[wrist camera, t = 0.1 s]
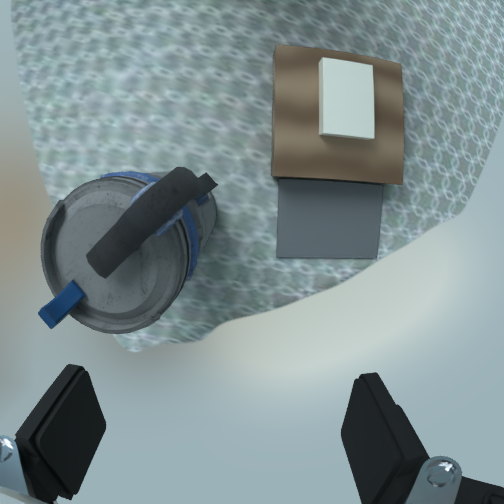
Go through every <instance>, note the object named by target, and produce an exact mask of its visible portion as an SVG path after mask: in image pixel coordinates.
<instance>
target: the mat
mask: <svg viewBox="0 0 504 504" xmlns="http://www.w3.org/2000/svg"><path fill="white" fill-rule="evenodd" d="M382 196H383V185H373V184H361V183H348V182H334V181H317V180H296V179H279V198H278V228H277V254H276V257H309V258H377V250H378V241H379V232H380V221H381V209H382Z"/></svg>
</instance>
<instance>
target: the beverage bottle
mask: <svg viewBox="0 0 504 504" xmlns="http://www.w3.org/2000/svg"><path fill="white" fill-rule="evenodd" d="M217 185H218V184H217V183H215V182H214V181H213V179H212V178H211V177H210V176H209V175H208V173H207V172H206V173H205V174H203V175H202V176H200V177H199V178H197V177H196V176H195V175H194V173H193V172H192V171H191V170H189V169H187V168H185V167H176V168H175V169H174V170H172V171H171V172H156V173H139V172H132V171H130V172H116V173H108V174H104V175H102V176H101V178H100V179H96V180H93V181H90V182H87V183H84V184H82V185H81V186H79V187H78V188H76V189H74V190H73V191H72V192H71V193H70V194H69V195H68V196H67V197H66V198H65V199H64V200H59V201H58V203H57V204H56V206H55V207H54V209H53V211H52V212H51V214H50V215H49V217H48V218H47V221H46V224H45V226H44V229H43V233H42V240H41V261H42V267H43V272H44V275H45V278H46V280H47V284H48V286H49V287H50V289H51V291H52V293H53V295H54V297H55V298H54V299H53V300H51V301H50V302H49V303H48V304H47V305H45V306H44V307H42V308H41V310H40V311H39V312H38V315H39V316H40V317H41V318H42V319H43V321H44V322H45V323H46V324H47V325H48V326H49V328H50V329H52V328H54V327H55V326H56V325H57V324H58V323H60V322H61V321H62V320H63V319H64V318H65V317H66V316H67V315H68V314H70V315H71V316H72V317H73V318H75V319H76V320H77V321H79V322H80V323H81V324H83V325H85V326H87V327H89V328H91V329H93V330H97V331H100V332H103V333H110V334H124V333H131V332H134V331H136V330H139V329H142V328H145V327H148V326H149V325H151V324H152V323H154V322H155V321H157V320H159V319H160V317H161V315H162V314H163V313H164V312H165V311H166V310H167V309H168V308H169V307H170V306H171V304H172V302H173V301H174V300H175V299H176V297H177V296H178V294H179V293H180V291H181V289H182V288H183V286H184V284H185V282H186V281H188V280H190V279H191V277H192V275H193V272H194V270H195V267H196V264H197V259H198V257H199V255H200V253H201V251H202V249H203V247H204V245H205V244H206V242H207V240H208V238H209V236H210V234H211V232H212V230H213V228H214V225H215V221H216V216H217V214H216V203H215V199H214V197H213V195H212V192H211V190H212V189H213V188H215V187H216V186H217Z"/></svg>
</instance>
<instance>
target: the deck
mask: <svg viewBox="0 0 504 504" xmlns="http://www.w3.org/2000/svg"><path fill="white" fill-rule="evenodd" d="M322 58H331V59H338V60H344V61H351V62H356V63H362V64H367V65H372V66H373V84H374V139H370V140H364V139H356V138H347V137H337V136H327V135H319V62H320V60H321V59H322ZM403 160H404V106H403V84H402V69H401V64H399V63H395V62H391V61H387V60H383V59H378V58H373V57H369V56H363V55H358V54H352V53H347V52H340V51H334V50H327V49H319V48H310V47H300V46H288V45H276V46H275V50H274V54H273V104H272V159H271V175H272V176H285V177H307V178H325V179H340V180H354V181H366V182H377V183H387V184H397V185H402V183H403Z"/></svg>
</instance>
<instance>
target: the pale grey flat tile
mask: <svg viewBox="0 0 504 504" xmlns="http://www.w3.org/2000/svg"><path fill="white" fill-rule="evenodd" d="M319 135H327V136H337V137H347V138H356V139H364V140H370V139H374V84H373V66H372V65H367V64H362V63H356V62H351V61H344V60H338V59H331V58H322V59H321V60H320V62H319Z"/></svg>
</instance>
